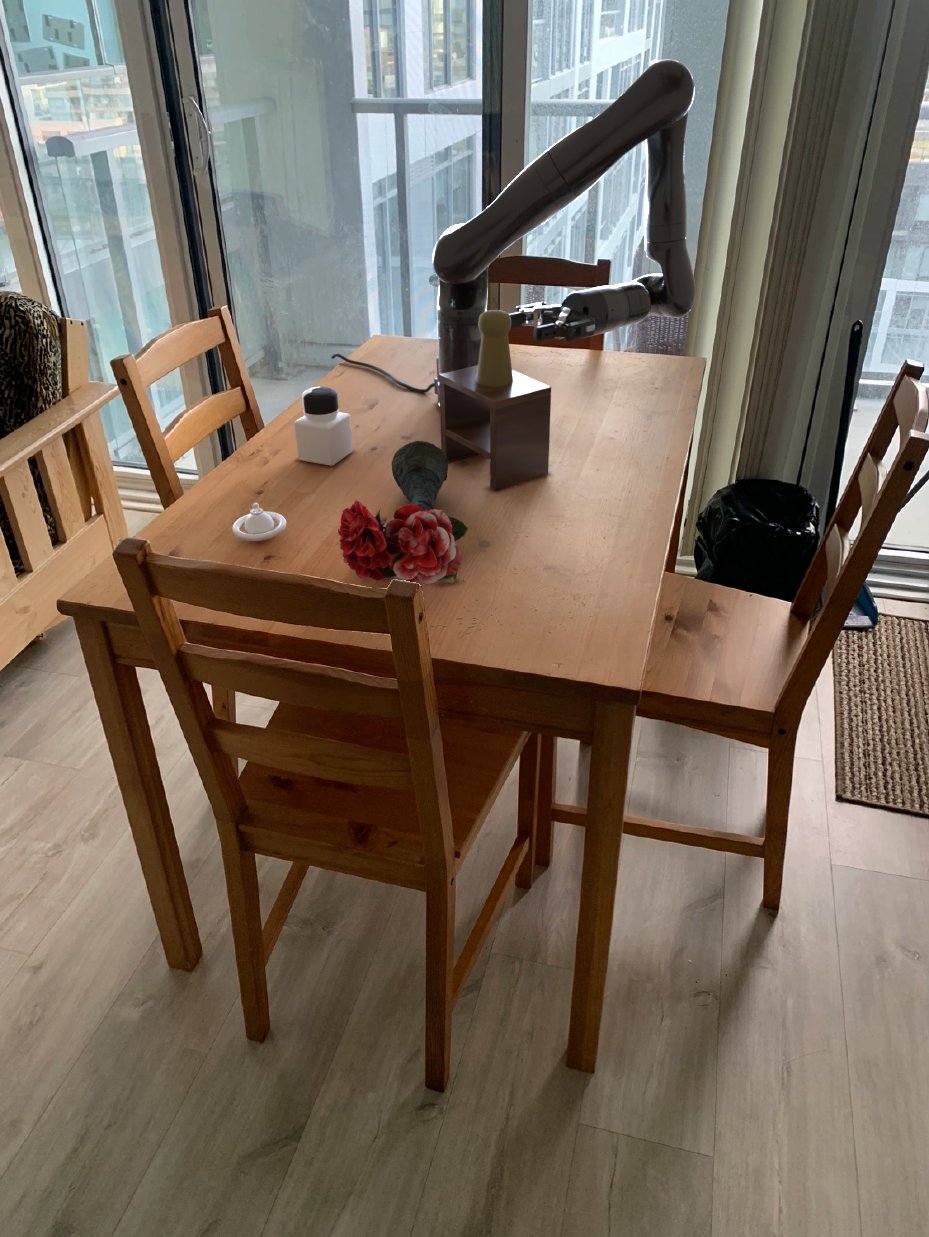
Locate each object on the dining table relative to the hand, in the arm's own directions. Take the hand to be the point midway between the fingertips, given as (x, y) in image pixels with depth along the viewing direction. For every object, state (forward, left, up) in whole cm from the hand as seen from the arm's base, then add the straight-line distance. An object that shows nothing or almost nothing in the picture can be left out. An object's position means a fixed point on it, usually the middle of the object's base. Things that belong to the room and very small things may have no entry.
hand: (519, 328), depth 150 cm
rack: (0, -5, -23) cm, 23 cm away
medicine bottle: (-21, -26, -23) cm, 41 cm away
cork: (0, -5, -8) cm, 9 cm away
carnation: (+15, -32, -23) cm, 42 cm away
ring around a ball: (0, -48, -23) cm, 53 cm away
